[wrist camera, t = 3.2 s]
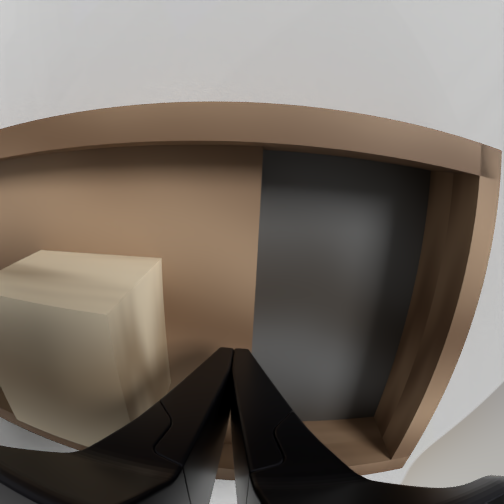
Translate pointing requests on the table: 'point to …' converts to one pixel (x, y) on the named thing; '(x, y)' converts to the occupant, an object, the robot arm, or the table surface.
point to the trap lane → (277, 248)
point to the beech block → (82, 341)
